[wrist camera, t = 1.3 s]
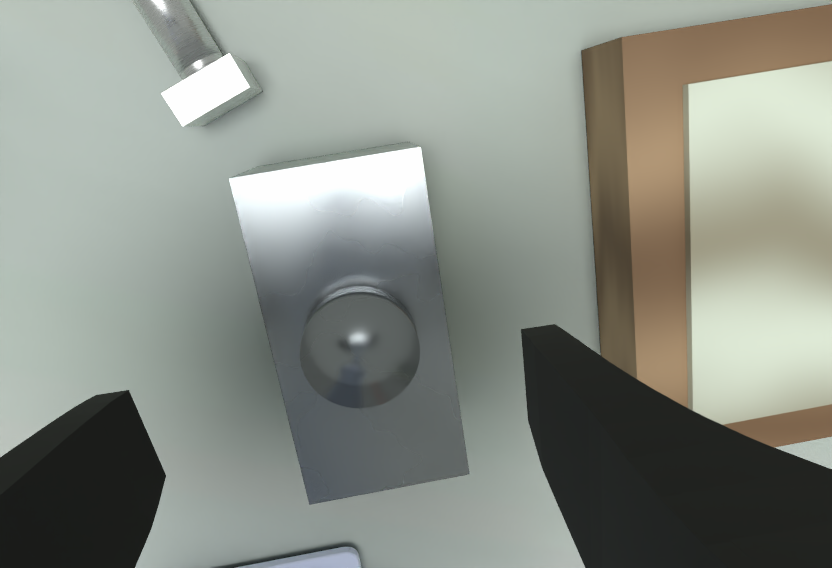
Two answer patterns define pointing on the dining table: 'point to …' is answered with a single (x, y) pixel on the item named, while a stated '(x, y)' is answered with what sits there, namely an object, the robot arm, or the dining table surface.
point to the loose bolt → (196, 64)
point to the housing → (355, 317)
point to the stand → (718, 217)
